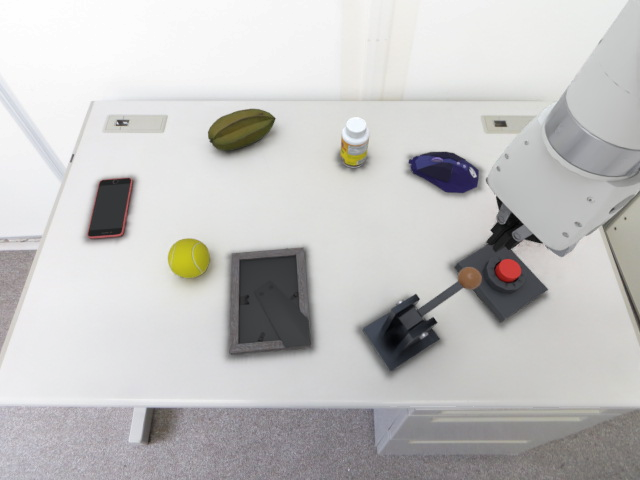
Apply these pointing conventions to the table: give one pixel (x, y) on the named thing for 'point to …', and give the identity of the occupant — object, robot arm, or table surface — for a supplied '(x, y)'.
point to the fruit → (240, 129)
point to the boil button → (508, 270)
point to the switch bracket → (400, 335)
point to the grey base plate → (502, 282)
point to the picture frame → (268, 301)
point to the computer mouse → (446, 171)
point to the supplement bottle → (354, 142)
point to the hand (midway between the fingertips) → (500, 241)
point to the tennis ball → (188, 258)
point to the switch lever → (442, 297)
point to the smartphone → (110, 208)
